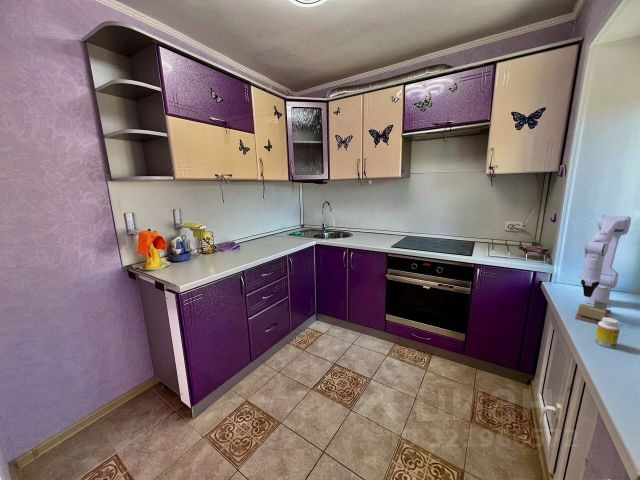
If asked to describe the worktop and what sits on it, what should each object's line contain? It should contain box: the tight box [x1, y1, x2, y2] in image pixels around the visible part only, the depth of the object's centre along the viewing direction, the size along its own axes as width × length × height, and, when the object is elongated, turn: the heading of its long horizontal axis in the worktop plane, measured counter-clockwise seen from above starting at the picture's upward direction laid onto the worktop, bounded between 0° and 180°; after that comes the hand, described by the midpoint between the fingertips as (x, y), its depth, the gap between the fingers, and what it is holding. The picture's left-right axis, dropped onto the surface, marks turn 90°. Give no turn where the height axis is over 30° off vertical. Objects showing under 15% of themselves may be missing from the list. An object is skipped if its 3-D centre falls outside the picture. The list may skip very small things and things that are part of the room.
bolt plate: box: [574, 303, 612, 326], centre depth 121 cm, size 19×10×1 cm, turn 130°
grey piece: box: [593, 299, 608, 322], centre depth 119 cm, size 16×4×5 cm, turn 130°
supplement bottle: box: [594, 317, 621, 349], centre depth 99 cm, size 6×6×10 cm
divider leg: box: [577, 303, 605, 320], centre depth 116 cm, size 3×8×5 cm, turn 40°
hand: (587, 296), depth 120 cm, fingers closed
